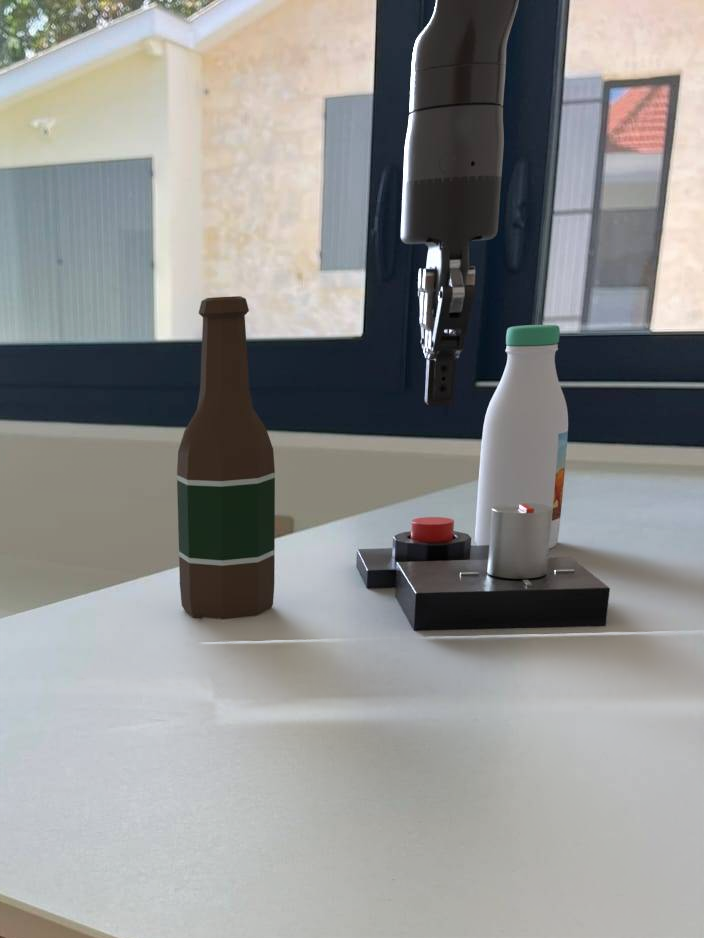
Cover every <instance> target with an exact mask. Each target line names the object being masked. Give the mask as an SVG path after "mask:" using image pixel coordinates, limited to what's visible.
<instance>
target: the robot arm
mask: <svg viewBox="0 0 704 938" xmlns="http://www.w3.org/2000/svg"><path fill="white" fill-rule="evenodd" d="M519 1H520V0H435V6H434V10H433V13H432V16H431V18H430V20H429V21H428V23H426V25H425V27H423V29H422V30H421V31H420V32H419V33H418V35H417V37H416V39H415V42H414V46H413V51H412V58H411V66H410V67H411V69H410V85H409V86H410V89H409V108H408V111H409V112H408V113H409V115H408V122H407V123H408V124H407V130H406V136H405V141H404V142H405V143H404V152H403V153H404V154H403V172H402V173H403V174H402V175H403V177H402V193H401V194H402V195H401V196H402V197H401V199H402V200H401V218H400V219H401V221H400V239H401V242H402V243H404V244H405V245H421V244H423V245H425V246H427V248H428V250H427V256H426V266H425V268H419V269H418V277H417V279H418V281H417V290H418V291H417V297H418V300H419V326H420V337H421V338H420V345H421V349H422V352H423V354H424V358H425V359H426V365H425V366H426V368H425V385H424V386H425V387H424V388H425V389H424V402H425V404H426V405H427V406H429V407H432V408H434V407H436V408H437V407H438V408H439V407H450V406H452V405H453V404H454V403H455V391H456V377H457V359H459V358H460V354H461V352H462V351H464V348H465V346H466V342H467V341H466V339H467V335H468V329H469V324H470V320H471V319H470V318H471V315H472V310H473V309H472V308H473V304H474V300H475V297H476V294H477V290H476V289H475V282H476V266H475V265H472V266H470V248H469V245H470V243H471V242H475V241H476V242H477V241H488V240H492V239H494V238H495V237H496V236H497V234H498V230H499V215H500V202H501V201H500V200H501V188H502V176H503V175H502V174H503V173H502V172H503V160H504V147H505V146H504V145H505V144H504V142H505V136H504V135H505V133H504V107H503V106H504V95H505V83H506V82H505V81H506V68H507V67H506V66H507V47H508V46H507V45H508V39H509V36H510V33H511V29H512V26H513V23H514V19H515V18H516V17H515V16H516V13H517V10H518V7H519Z"/></svg>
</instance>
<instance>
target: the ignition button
mask: <svg viewBox="0 0 704 938" xmlns="http://www.w3.org/2000/svg"><path fill="white" fill-rule="evenodd" d="M410 523H411V524H410V525H411V526H410V531H411V540H415V541H426V542H439V541H448V540H453V531H455V530H454V528H455V520H454V519H453V518H449V517H441V516H427V517H425V516H423V517H417V518H414V519H412V520H411V522H410Z"/></svg>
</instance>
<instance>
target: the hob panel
mask: <svg viewBox="0 0 704 938" xmlns="http://www.w3.org/2000/svg"><path fill="white" fill-rule="evenodd" d="M487 570H488V559H485V560H451V561H417V562H397V564H396V587H395V588H394V589H395V591H394V597H395V599H396V601H397V603H398V604H399V605H398V606H399V607H400V608H401V610H402V611H403V614H404V616H405V618H406V619H407V621H408V623H409V625H410V627H411V629H412V630H413V631H414V632H426V631H427V632H428V631H467V630H507V629H510V630H511V629H512V630H513V629H551V628H553V629H555V628H593V627H606V626H607V618H608V610H609V601H610V592H611V591H610V590H611V588H610V587H609V586H608V585H606V583H604V582H603V581H601V580H600V579H599V578H598V577H597V576H596V575H594V574H593V573H591V572H590V571H589V570H588V569H586V567H584V566H583V565H581V563H580V562H578V561H577V560H575V559H574V558H573V557H571V556H558V557H554V556H553V557H548V564H547V573H546V575H544V576H542V577H538V578H532V579H507V578H499V577H495V576H492V575H489V574H488V572H487Z"/></svg>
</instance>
